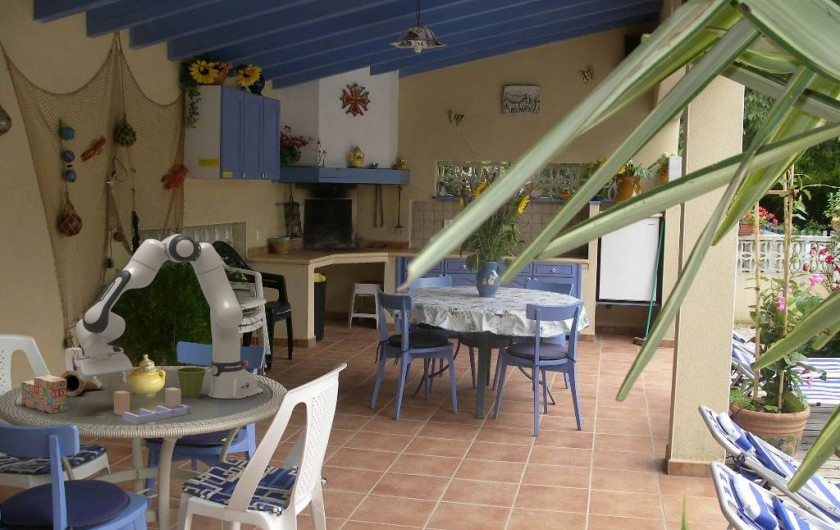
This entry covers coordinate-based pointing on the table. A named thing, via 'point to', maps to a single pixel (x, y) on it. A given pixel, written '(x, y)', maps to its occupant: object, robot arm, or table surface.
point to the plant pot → (191, 381)
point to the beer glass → (72, 357)
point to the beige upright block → (172, 398)
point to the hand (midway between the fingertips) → (112, 385)
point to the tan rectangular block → (121, 402)
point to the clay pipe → (77, 383)
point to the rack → (156, 414)
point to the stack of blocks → (45, 393)
